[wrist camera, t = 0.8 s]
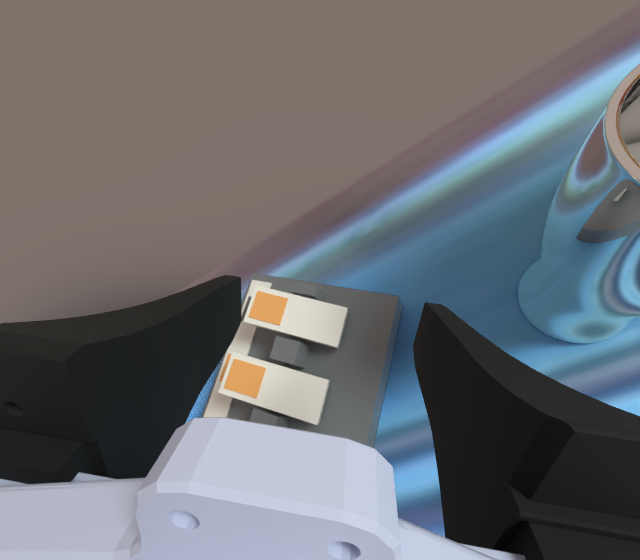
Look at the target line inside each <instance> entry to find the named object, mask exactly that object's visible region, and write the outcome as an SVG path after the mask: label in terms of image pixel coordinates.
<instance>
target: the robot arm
mask: <svg viewBox="0 0 640 560" xmlns="http://www.w3.org/2000/svg"><path fill="white" fill-rule="evenodd" d="M241 321H242V315H241V277H236V276H228V275H224V276H221V277H218V278H215V279H212V280H210V281H207V282H205V283H202V284H200V285H197V286H195V287H192V288H190V289H187V290H184V291H182V292H179V293H176V294H173V295H170V296H168V297H165V298H162V299H159V300H156V301H152V302H149V303H145V304H142V305H138V306H134V307H130V308H126V309H120V310H115V311H111V312H105V313H101V314H95V315H88V316H82V317H73V318H66V319H57V320H44V321H30V322H16V323H1V324H0V560H640V416H637V415H634V414H632V413H629V412H626V411H624V410H621V409H618V408H616V407H613V406H610V405H608V404H606V403H603V402H601V401H599V400H596V399H594V398H592V397H589V396H587V395H585V394H582V393H580V392H578V391H576V390H574V389H571V388H569V387H567V386H565V385H563V384H561V383H559V382H557V381H555V380H553V379H551V378H549V377H547V376H545V375H543V374H541V373H540V372H538V371H536V370H534V369H532V368H530V367H529V366H527V365H525V364H524V363H522V362H520V361H519V360H517V359H515V358H514V357H512V356H511V355H509V354H507V353H506V352H504V351H503V350H501V349H500V348H499V347H497V346H496V345H494V344H493V343H491V342H490V341H489V340H487V339H486V338H484V337H483V336H482V335H480V334H479V333H478V332H477V331H475V330H474V329H473V328H471V327H470V326H469V325H468V324H466V323H465V322H464V321H463V320H461V319H460V318H459V317H458V316H456V315H455V314H454V313H453V312H451V311H450V310H449V309H447V308H446V307H444V306H443V305H440V304H433V303H425V305H424V308H423V312H422V315H421V319H420V323H419V326H418V330H417V334H416V337H415V341H414V345H413V351H414V360H415V368H416V372H417V376H418V380H419V384H420V388H421V391H422V395H423V399H424V402H425V406H426V410H427V413H428V417H429V421H430V425H431V430H432V435H433V442H434V448H435V455H436V461H437V469H438V476H439V484H440V492H441V501H442V510H443V519H444V529H445V537H443V536H440V535H438V534H435V533H433V532H431V531H428V530H426V529H424V528H421V527H419V526H416V525H414V524H412V523H409V522H407V521H405V520H402V519H400V518H398V514H397V503H396V493H395V483H394V474H393V467H392V466H391V465H390V464H389V463H388V462H387V461H386V460H385V459H384V458H383V457H382V456H381V455H380V454H379V453H378V452H377V451H376V450H375V449H374V448H372V447H370V446H368V445H365V444H362V443H359V442H357V441H354V440H351V439H348V438H345V437H339V436H333V435H327V434H321V433H315V432H309V431H304V430H298V429H292V428H286V427H280V426H274V425H268V424H262V423H256V422H250V421H244V420H238V419H232V418H226V417H205V418H194V419H192V420H190V421H189V422H187V423H186V424H185V422H186V420H187V418H188V416H189V414H190V412H191V410H192V408H193V406H194V404H195V402H196V400H197V398H198V396H199V394H200V392H201V390H202V389H203V387H204V385H205V383H206V382H207V380H208V379H209V377H210V376H211V374H212V373H213V371H214V370H215V368H216V366H217V365H218V363H219V362H220V360H221V359H222V357H223V356H224V354H225V352H226V351H227V349H228V348H229V346H230V345H231V343H232V341H233V339H234V337H235V335H236V333H237V331H238V328H239V326H240V324H241Z"/></svg>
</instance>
